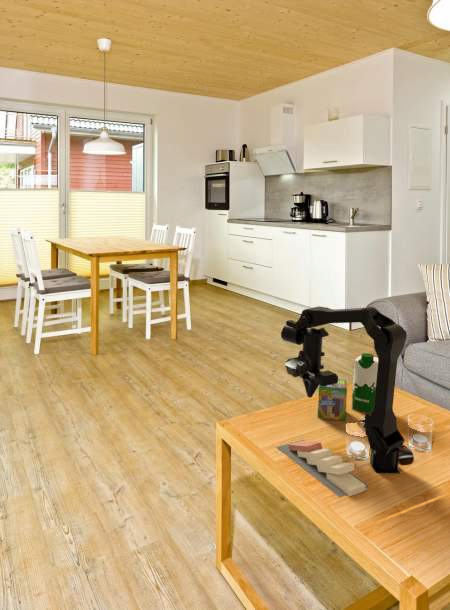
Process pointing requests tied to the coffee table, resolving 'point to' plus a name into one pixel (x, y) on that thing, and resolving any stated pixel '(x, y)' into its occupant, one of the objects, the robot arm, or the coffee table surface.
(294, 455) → the mat
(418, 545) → the coffee table surface
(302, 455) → the domino
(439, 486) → the coffee table surface
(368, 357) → the milk carton
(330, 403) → the juice carton
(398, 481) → the coffee table surface
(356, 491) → the domino
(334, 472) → the domino
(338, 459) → the domino
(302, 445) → the domino
